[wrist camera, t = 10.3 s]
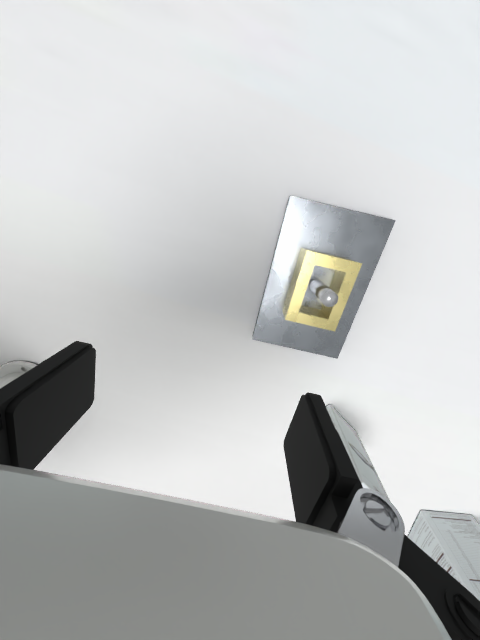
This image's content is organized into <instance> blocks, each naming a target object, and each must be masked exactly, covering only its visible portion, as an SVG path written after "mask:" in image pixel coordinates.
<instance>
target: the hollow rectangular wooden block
mask: <svg viewBox="0 0 480 640" xmlns="http://www.w3.org/2000/svg"><path fill="white" fill-rule="evenodd" d="M314 265H317V266H321V267H325V268H330V269H334V270H335V273H334V275H333V278H332V281H331V283H330V286H329V288H330V289H331V290H332V291H334V292H335V293H336V294H337V295H338V302H337V304H336V305H334V306H332V307H326V306H325V305H324V304H323V305H322V308H321V310H320V309H316V308H311V307H307V306H303V305H301V304H302V301H303V298H304V295H305V292H306V289H307V286H308V283H309V280H310V277H311V274H312V271H313V268H314ZM361 266H362V263H359V262H356V261H353V260H350V259H346V258H342V257H338V256H334V255H329V254H325V253H321V252H317V251H313V250H309V249H305V248H301V250H300V253H299V257H298V260H297V263H296V267H295V270H294V273H293V276H292V280H291V283H290V286H289V289H288V293H287V296H286V299H285V302H284V306H283V309H282V311H283V315H284V318H285V320H288V321H292V322H297V323H301V324H305V325H309V326H314V327H318V328H322V329H326V330H331V331H335V330H336V328H337V325H338V323H339V320H340V318H341V315H342V313H343V310H344V308H345V305H346V303H347V300H348V298H349V295H350V293H351V291H352V288H353V286H354V283H355V281H356V278H357V276H358V273H359V271H360V268H361Z"/></svg>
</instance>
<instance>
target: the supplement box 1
mask: <svg viewBox="0 0 480 640" xmlns="http://www.w3.org/2000/svg"><path fill="white" fill-rule="evenodd" d="M326 408H327V411H328V413H329V415H330V417H331V420H332V422H333V424H334V426H335V429H336V430H337V432H338V433H339V435H340V438H341V440H342V442H343V444H344V446H345V449H346V451H347V453H348V455H349V457H350V460H351V462H352V464H353V466H354V468H355V471H356V473H357V475H358V477H359V480H360V482H361V484H362V486H363V488H368V489H372V490H374V491H377V492H378V493H380V494H381V495H383V496H384V497H385V498H386V499H388V500H389V498H388V496H387V494H386V492H385V490H384V488H383V485H382V483H381V481H380V479H379V477H378V475H377V473H376V471H375V469H374V467H373V465H372V463H371V461H370V458H369V456H368V454H367V452H366V450H365V448H364V446H363V444H362V442H361V440H360V438H359V436H358V434H357V432H356V431H355V430H354V429H353V428H352V427H351V426H350V425H349V424H348V423H347V422H346V421H345V420H344V419H343V418H342V416H341V415H340V414H339V413H338V412H337V411H336V410H335V409H334V407H333V406H332V405H331V404H330V405H328V406H326ZM389 501H390V500H389Z"/></svg>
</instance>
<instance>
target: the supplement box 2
mask: <svg viewBox="0 0 480 640" xmlns="http://www.w3.org/2000/svg"><path fill="white" fill-rule="evenodd" d="M408 538H409V539H410V540H411V541H413V542H414V543H415V544H416V545H417V546H418V547H419V548H421V549H422V550H423V551H424V552H425V553H426V554H427V555H429V556H430V557H431V558H432V559H433V560H434V561H435V562H437V563H438V564H439V565H440V566H441V567H442V568H443V569H445V570H446V571H447V572H448V573H449V574H450V575H451V576H453V577H454V578H455V579H456V580H457V581H458V582H459V583H460V584H462V585H463V586H464V587H465V588H466V589H467V590H468V591H470V592H471V593H472V594H473V595H474V596H475V597H476V598H477V599H478V600H479V601H480V525H479V524H478V522H477V521H476V520H475V518H474V517H473V516H472V515H468V514H457V513H446V512H435V511H424V510H421V511H420V513H419V515H418V517H417V519H416V521H415V523H414V525H413V528H412V529H411V532H410V534H409V536H408Z"/></svg>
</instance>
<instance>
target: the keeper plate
mask: <svg viewBox="0 0 480 640" xmlns="http://www.w3.org/2000/svg"><path fill="white" fill-rule="evenodd" d="M394 223H395V220H391V219H387V218H383V217H379V216H374V215H370V214H366V213H362V212H357V211H353V210H349V209H345V208H341V207H336V206H332V205H328V204H324V203H320V202H315V201H311V200H307V199H303V198H298V197H294V196H289V200H288V204H287V207H286V211H285V215H284V219H283V223H282V226H281V230H280V234H279V238H278V242H277V245H276V249H275V253H274V257H273V261H272V264H271V268H270V272H269V276H268V280H267V284H266V287H265V291H264V295H263V299H262V303H261V306H260V310H259V314H258V318H257V322H256V325H255V329H254V333H253V339H254V340H258V341H262V342H267V343H271V344H276V345H280V346H284V347H289V348H293V349H298V350H302V351H306V352H311V353H315V354H320V355H324V356H328V357H333V358H338V356H339V353H340V351H341V349H342V346H343V344H344V342H345V339H346V337H347V334H348V332H349V330H350V327H351V325H352V323H353V320H354V318H355V315H356V313H357V311H358V308H359V306H360V304H361V301H362V299H363V296H364V294H365V292H366V289H367V287H368V285H369V282H370V280H371V277H372V275H373V273H374V270H375V268H376V266H377V263H378V261H379V259H380V256H381V254H382V251H383V249H384V247H385V244H386V242H387V240H388V237H389V235H390V232H391V230H392V228H393V225H394ZM301 248H305V249H309V250H313V251H317V252H321V253H325V254H329V255H334V256H338V257H342V258H346V259H350V260H353V261H356V262H359V263H362V266H361V268H360V271H359V273H358V276H357V278H356V281H355V283H354V286H353V288H352V291H351V293H350V295H349V298H348V300H347V303H346V305H345V308H344V310H343V313H342V315H341V318H340V320H339V323H338V325H337V328H336V330H335V331H331V330H326V329H322V328H318V327H314V326H309V325H305V324H301V323H297V322H292V321H288V320H285V318H284V315H283V311H282V309H283V306H284V302H285V299H286V296H287V293H288V289H289V286H290V283H291V280H292V276H293V273H294V270H295V267H296V263H297V260H298V257H299V253H300V250H301ZM334 273H335V270H334V269H330V268H325V267H321V266H317V265H314V268H313V271H312V274H311V277H310V280H309V283H308V286H307V289H306V292H305V295H304V298H303V301H302V304H301V305H303V306H307V307H311V308H316V309H320V310H321V308H322V305H323V304H324V305H325V306H326V307H332V306H334V305H336V304H337V302H338V295H337V294H336V293H335V292H334V291H332V290H331V289H330V288H329V286H330V283H331V281H332V278H333V275H334Z"/></svg>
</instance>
